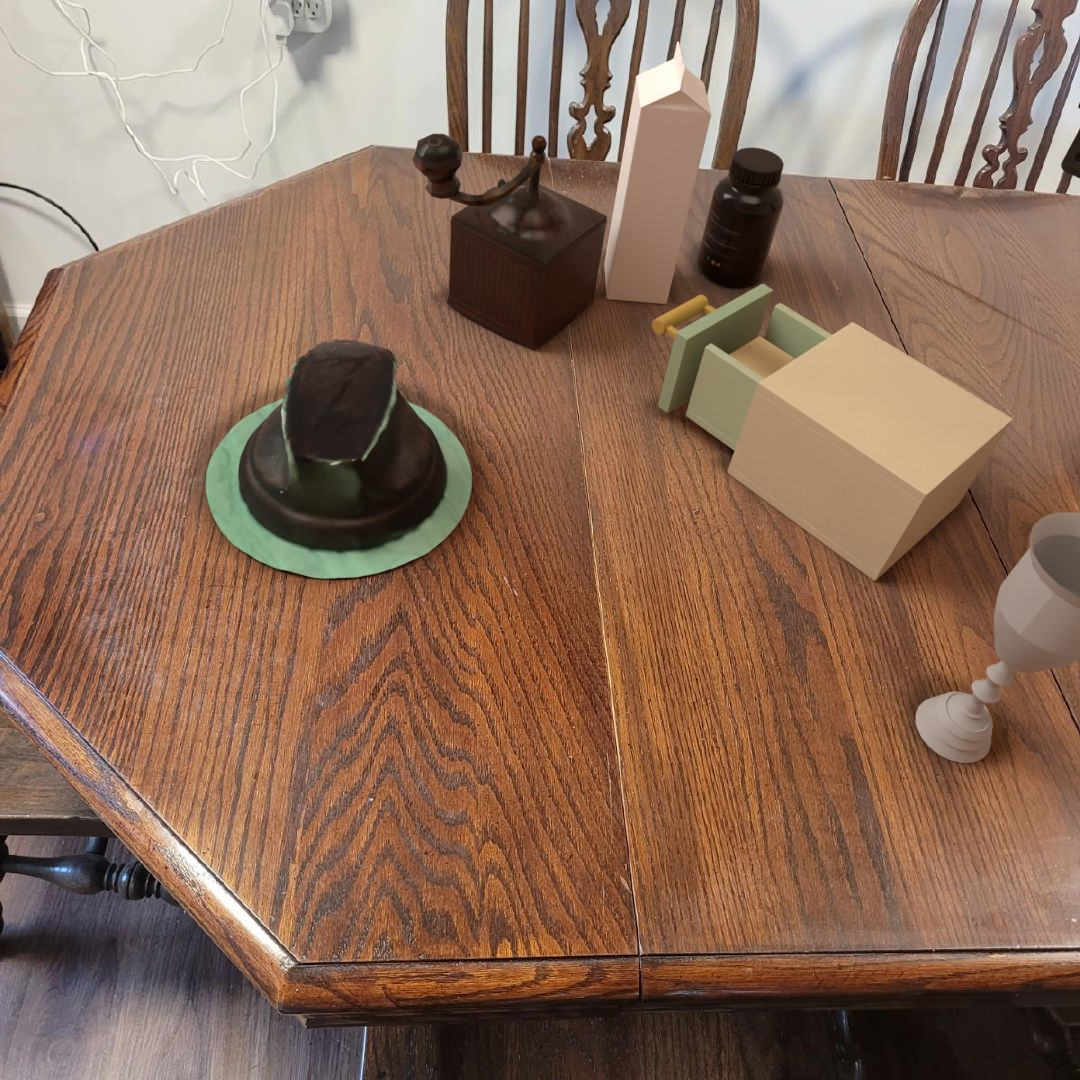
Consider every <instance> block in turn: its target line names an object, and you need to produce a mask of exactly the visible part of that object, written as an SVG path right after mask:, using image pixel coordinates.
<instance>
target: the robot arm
mask: <svg viewBox="0 0 1080 1080" xmlns="http://www.w3.org/2000/svg"><path fill="white" fill-rule="evenodd" d="M1077 107H1078V109H1079V110H1080V102H1079V103H1078V106H1077ZM1060 167H1061V169H1062V171H1063V172H1065V173H1066V174H1068V175H1071V176H1073V177H1076V178H1078V179H1080V128H1079V129H1078V131H1077V133H1076V135H1075V137H1074V139H1073V140H1072V142H1071V144H1070V146H1069V148H1068V149H1067V151H1066V153H1065V155H1064V157H1063V159H1062V160H1061V163H1060Z"/></svg>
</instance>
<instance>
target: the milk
mask: <svg viewBox="0 0 1080 1080" xmlns="http://www.w3.org/2000/svg"><path fill="white" fill-rule="evenodd" d="M711 119H712V111H711V107H710V103H709V99H708V94H707V90H706V87H705V82H703V80H702V79H700V78H699V77H698V76H696V75H695V74H694V73H693V72H691V71H690V69H688V68H687V67H686V66H685V64H684V59H683V54H682V49H681V46H680V42H679V41H677V42H676V45H675V51H674V54H673V58H671V59H670V60H668V61H665V62H663V63H661V64H659V65H656V66H654V67H652V68H650V69H648V70H646V71H643V72H641V73H639V74H637V75H636V76H635V82H634V87H633V93H632V98H631V105H630V112H629V118H628V122H627V128H626V135H625V141H624V145H623V152H622V159H621V163H620V170H619V175H618V182H617V188H616V193H615V199H614V205H613V210H612V216H611V222H610V228H609V235H608V240H607V247H606V252H605V258H604V263H603V266H604V281H605V296H606V299H607V300H612V301H623V302H636V303H647V304H648V303H649V304H660V305H667V303H668V300H669V295H670V290H671V286H672V282H673V278H674V274H675V269H676V265H677V261H678V257H679V253H680V248H681V245H682V241H683V236H684V233H685V232H684V231H685V227H686V224H687V223H686V222H687V219H688V216H689V211H690V207H691V203H692V197H693V195H694V190H695V185H696V181H697V177H698V174H699V169H700V165H701V161H702V157H703V151H704V147H705V143H706V140H707V136H708V131H709V127H710V122H711Z"/></svg>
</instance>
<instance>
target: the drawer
mask: <svg viewBox="0 0 1080 1080" xmlns="http://www.w3.org/2000/svg"><path fill="white" fill-rule="evenodd" d="M773 293H774V289H773V288H771V287H770V286H768V285H766V284H765V283H760V284H759V285H757V286H755V287H753V288H752V289H750V290H749V291H747V292H745V293H743V294H742V295H740V296H738V297H736V298H734V299H732V300H731V301H729V302H727V303H725V304H723V305H722V306H720V307H718V308H715V307H713V306H711V305H710V302H709V299H708V298H707V296H705V295H704V294H699V295H697V296H695V297H693V298H691V299H690V300H688V301H686V302H684V303H682V304H680V305H679V306H677V307H675V308H673V309H671V310H669V311H668V312H665V313H664V314H662V315H660V316H658V317H656V318H654V320H653V321H652V322H651V323H652V324H651V328H652V329H653V332H654V333H656V334H657V335H661V336H662V335H663V334H666V335H667V336H669V337H670V338H672V339H673V344H672V347H671V352H670V356H669V360H668V363H667V368H666V372H665V375H664V379H663V383H662V387H661V392H660V395H659V399H658V402H657V407H658V408H660V409H661V410H663V411H664V412H666V413H667V414H669V413H671V412H672V411H673V410H675V409H677V408H678V407H680V406H681V405H683V404H685V403H686V402H687V401H688V406H687V409H686V413H685V417H686V418H688V419H690V420H691V421H692V422H694V423H695V424H697V425H698V426H699V427H701V428H702V429H703V430H704V431H705V432H707V433H709V434H711V435H712V436H713V437H714V438H715V439H717V440H718V441H720V442H722V443H723V444H724V445H725V446H727V447H728V448H729V449H731V450H733V451H735V449H736V446H737V443H738V440H739V437H740V434H741V432H742V429H743V426H744V423H745V420H746V418H747V415H748V412H749V409H750V406H751V403H752V401H753V398H754V395H755V392H756V389H757V387H758V384H759V382H761V381H762V380H764V378H763V377H761V376H760V375H758V374H757V373H755V372H754V371H752V370H751V369H749V368H748V367H746V366H745V365H743V364H742V363H740V362H739V361H737V360H736V359H734V358H733V357H731V356H730V355H729V354H731V353H733V352H734V351H736V350H738V349H739V348H741V347H742V346H744V345H746V344H747V343H749V342H751V341H752V340H754V339H755V338H757V337H759V336H760V331H761V328H762V326H763V323H764V319H765V317H766V313H767V311H768V308H769V304H770V302H771V300H772V296H773ZM701 313H703V314H705V315H704V316H702V317H701V318H699V319H697V320H695V321H693V322H692V323H690V324H688V325H686V326H684V327H683V328H681V329H677V328H676V327H678V326H680V325H682V324H683V323H685V322H687V321H689V320H691V319H692V318H694V317H696V316H698V315H699V314H701ZM832 335H833V334H832V333H830V332H828V331H827V330H826V329H824V328H822V327H821V326H819V325H817V324H816V323H814V322H812V321H811V320H809V319H808V318H806V317H804V316H803V315H802V314H800V313H798V312H796V311H795V310H793V309H791V308H790V307H788V306H787V305H785V304H784V303H782V302H779V303H777V304H776V305H774V308H773V311H772V314H771V317H770V319H769V322H768V326H767V328H766V331H765V334H764V337H763V338H764V339H765V340H767V341H769V342H770V343H772V344H773V345H775V346H776V347H778V348H779V349H781V350H783V351H784V352H786V353H787V354H789V355H790V356H792V357H793V358H795V359H796V358H798V357H799V356H801V355H802V354H804V353H805V352H807V351H808V350H810V349H812V348H813V347H815V346H816V345H818V344H819V343H821V342H822V341H824V340H825V339H827V338H828V337H830V336H832Z"/></svg>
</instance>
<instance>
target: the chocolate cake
mask: <svg viewBox="0 0 1080 1080" xmlns="http://www.w3.org/2000/svg"><path fill="white" fill-rule="evenodd" d="M397 365H398V362H397V359H396V357H395V354H394V353H393V351H391V350H390V349H389V348H384V347H381V346H378V345H375V344H372V343H367V342H363V341H358V340H351V339H338V338H337V339H331V340H330V339H329V340H325V341H322V342H319V343H318V344H316V346H315V347H313V348H312V349H309V350H308V352H307V353H305V355H301V356H299V358H298V359H296V361H295V363H292V364H291V366H290V370H291V371H293V372H292V375H291V376H288V377H286V378H285V383H286V388H285V392H284V394H283V397H282V398H280V399H279V400H276V401H274V402H271V403H268V404H266V405H264V406H262V407H260V408H259V409H257V410H255V411H254V412H252V413H250V414H248V415H247V416H245V417H244V418H242V419H241V420H240V421H238V422H237V423H236V424H235V425H233V427H231V428H230V430H229V431H228V433H227V434H226V435H225V436H224V437H223V438H222V440H221V441H220V443H219V444H218V445H217V447H216V449H215V450H214V451H213V454H212V456H211V458H210V460H209V463H208V465H207V469H206V475H205V494H206V499H207V503H208V507H209V510H210V513H211V515H212V518H213V519H214V521H215V523H216V525H217V526H218V528H219V530H220V531H221V533H222V534H223V535H224V536H225V537H226V538H227V540H228V541H229V542H230V543H231V544H232V545H233V546H235V547H236V548H237V549H238V550H240V551H242V552H243V553H245V554H247V555H249V556H250V557H252V559H255V560H256V561H258V562H260V563H262V564H265V565H267V566H269V567H271V568H274V569H277V570H280V571H281V570H283V571H287V572H291V573H293V574H298V575H302V576H306V577H309V578H314V579H338V578H339V579H340V578H341V579H345V578H359V577H363V576H364V577H365V576H370V575H376V574H379V573H383V572H386V571H388V570H393V569H395V568H397V567H401V566H403V565H405V564H407V563H408V562H411V561H414V560H416V559H418V558H420V557H423V556H425V555H427V554H428V553H430V552H431V551H433V550H434V549H435V548H436V547H437V546H438V545H439V544H440V543H442V542H443V541H445V539H446V538H448V537H449V535H450V534H451V533H452V532H453V530H455V528H456V527H457V526H458V524H459V523H460V522H461V520H462V518H463V516H464V514H465V512H466V510H467V509H468V505H469V502H470V499H471V494H472V487H473V474H472V468H471V463H470V461H469V457H468V455H467V453H466V451H465V448H464V447H463V445H462V443H461V442H460V440H459V439H458V437H457V436H456V435H455V434H454V433H453V431H451V429H450V428H449V427H448V426H447V425H446V424H445V423H444V422H443V421H442V420H441V419H440V418H438V417H437V416H435V415H434V414H432V413H431V412H430V411H428V410H427V409H425V408H423V407H421V406H419V405H416V404H414V403H412V402H409V401H407V400H406V398H405V397H404V396H403V395H402V394H401V391H400V390H399V389H398V382H397V378H396V375H397V368H398V367H397Z"/></svg>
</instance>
